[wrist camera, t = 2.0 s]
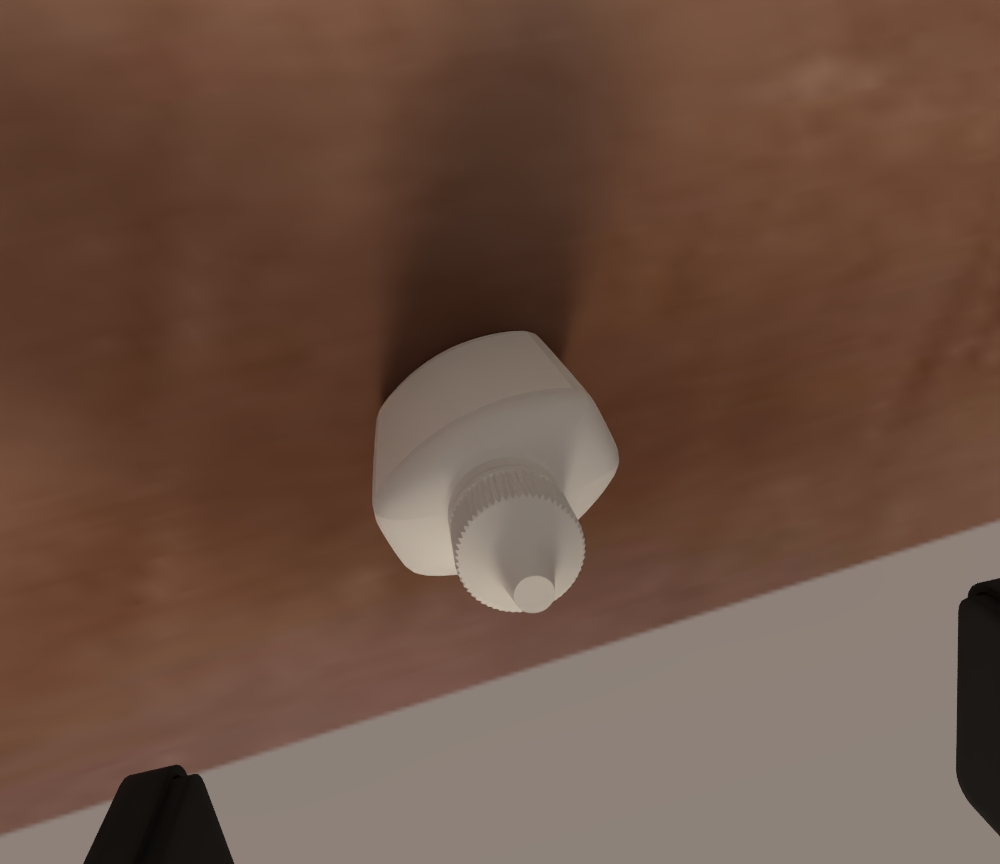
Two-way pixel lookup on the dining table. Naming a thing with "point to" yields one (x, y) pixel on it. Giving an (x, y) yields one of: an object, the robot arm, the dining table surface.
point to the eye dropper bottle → (492, 470)
